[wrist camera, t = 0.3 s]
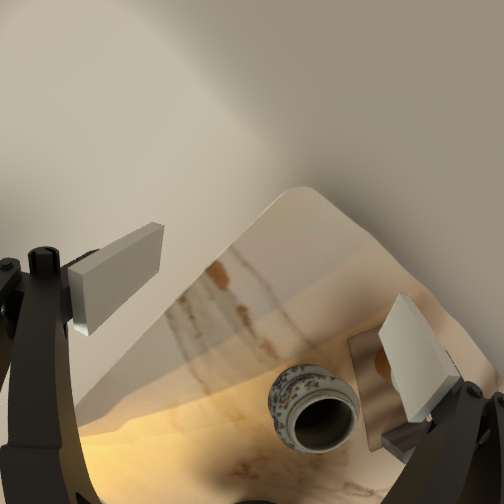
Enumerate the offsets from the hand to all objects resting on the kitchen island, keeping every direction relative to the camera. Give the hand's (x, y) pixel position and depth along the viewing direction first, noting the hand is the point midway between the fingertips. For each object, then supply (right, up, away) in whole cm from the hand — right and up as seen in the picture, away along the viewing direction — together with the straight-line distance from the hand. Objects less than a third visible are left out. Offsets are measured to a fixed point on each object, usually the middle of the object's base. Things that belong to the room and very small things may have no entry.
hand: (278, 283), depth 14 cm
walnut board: (+26, -25, +30) cm, 47 cm away
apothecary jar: (+7, -23, +31) cm, 39 cm away
